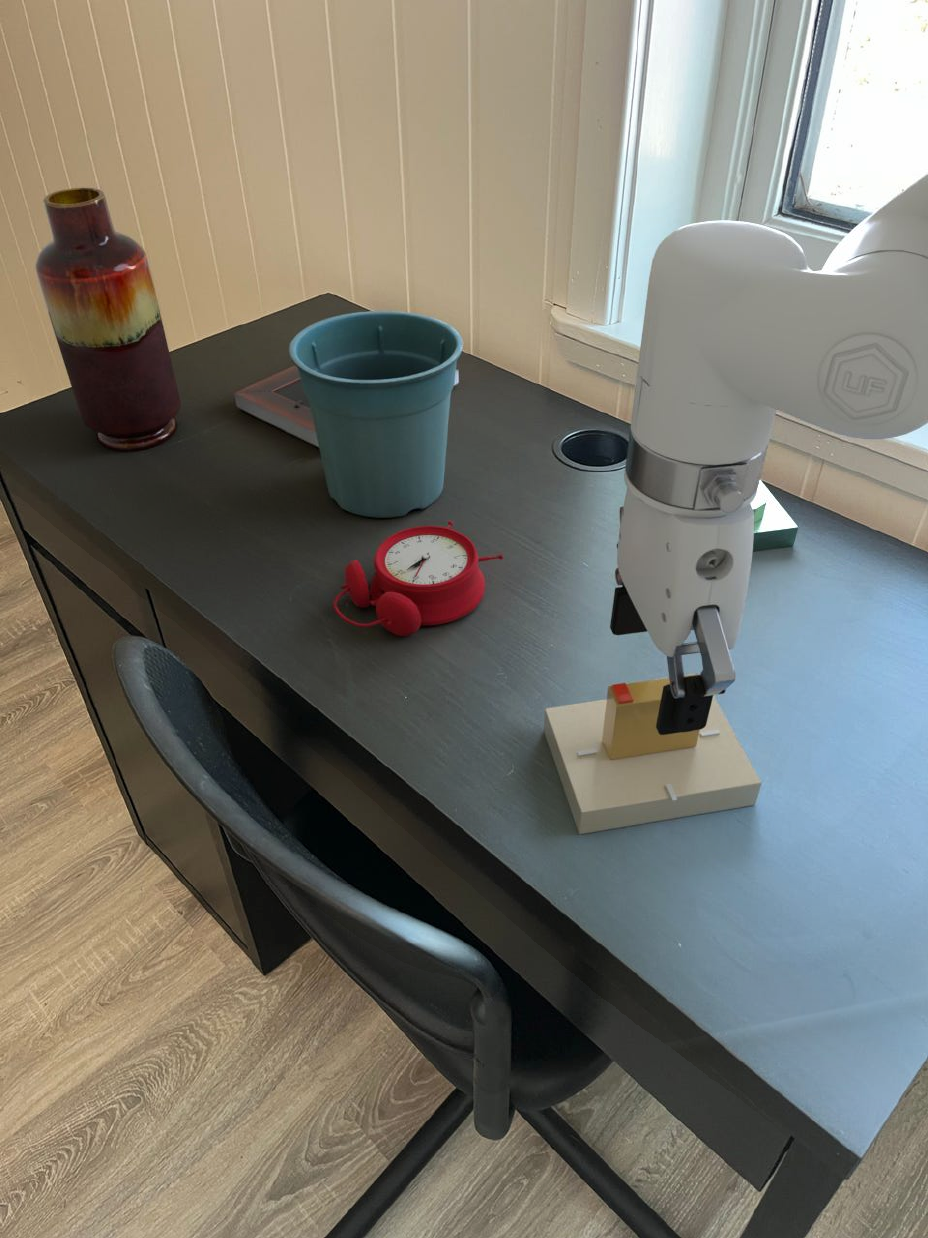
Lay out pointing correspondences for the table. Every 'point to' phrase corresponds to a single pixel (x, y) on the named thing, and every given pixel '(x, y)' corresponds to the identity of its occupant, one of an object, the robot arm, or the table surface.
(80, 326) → the vase
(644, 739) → the tan block
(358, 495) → the flower pot
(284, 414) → the picture frame
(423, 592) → the alarm clock
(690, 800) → the dial base plate
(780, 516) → the button block
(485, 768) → the table surface
